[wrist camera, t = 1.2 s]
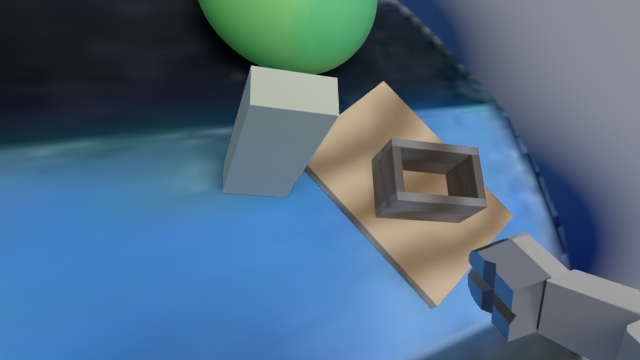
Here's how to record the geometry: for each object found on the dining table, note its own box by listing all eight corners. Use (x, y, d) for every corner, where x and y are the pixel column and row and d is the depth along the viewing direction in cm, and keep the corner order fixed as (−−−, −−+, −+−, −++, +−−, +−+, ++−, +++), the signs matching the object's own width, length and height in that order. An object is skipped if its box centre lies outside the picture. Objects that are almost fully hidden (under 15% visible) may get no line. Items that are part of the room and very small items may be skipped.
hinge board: (290, 155, 50) (307, 126, 44) (379, 87, 56) (403, 53, 51) (431, 308, 48) (466, 297, 42) (506, 219, 54) (545, 199, 49)
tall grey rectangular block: (222, 192, 46) (250, 104, 32) (224, 149, 48) (251, 48, 34) (286, 197, 48) (339, 115, 34) (285, 155, 49) (336, 61, 35)
